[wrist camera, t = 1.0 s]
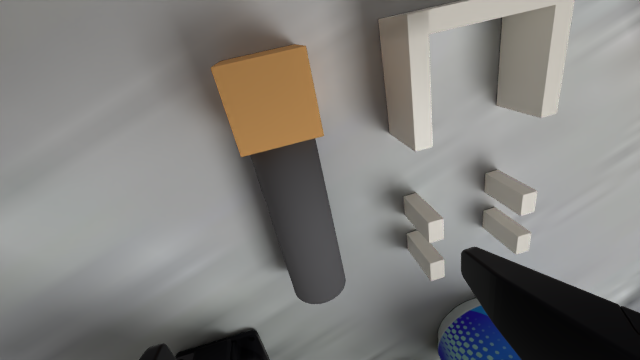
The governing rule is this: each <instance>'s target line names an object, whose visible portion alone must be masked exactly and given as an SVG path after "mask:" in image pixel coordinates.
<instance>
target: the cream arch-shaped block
mask: <svg viewBox="0 0 640 360" xmlns="http://www.w3.org/2000/svg"><path fill="white" fill-rule="evenodd" d="M574 1H575V0H460V1H456V2H452V3H447V4H443V5H438V6H434V7H429V8H425V9H421V10H416V11H412V12H407V13H403V14H398V15H394V16H390V17H385V18H381V19H378V22H379V32H380V42H381V52H382V62H383V72H384V82H385V92H386V102H387V112H388V123H389V133H390V134H391V135H392V136H394V137H395V138H397V139H398V140H399V141H401V142H402V143H404V144H405V145H407V146H408V147H409V148H411V149H412V150H414V151H415V152H417V151H420V150H424V149H428V148H431V147H433V138H432V107H431V76H430V46H429V34H433V33H437V32H441V31H445V30H450V29H454V28H458V27H463V26H467V25H471V24H475V23H480V22H484V21H488V20H492V19H497V18H501V17H502V29H501V44H500V60H499V75H498V91H497V106H500V107H503V108H507V109H510V110H514V111H518V112H521V113H525V114H529V115H532V116H536V117H539V118H543V117H546V116H550V115H554V114H557V110H558V104H559V97H560V91H561V84H562V78H563V71H564V65H565V59H566V52H567V46H568V39H569V33H570V27H571V20H572V14H573V7H574Z"/></svg>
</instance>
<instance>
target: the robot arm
mask: <svg viewBox="0 0 640 360" xmlns="http://www.w3.org/2000/svg"><path fill="white" fill-rule="evenodd" d="M461 272H462V275H463V277H464V279H465V281H466V282H467V284H468V285H469V287H470V288H471V290H472V292H473V293H474V295H475V296H476V298H477V299H478V301H479V303H480V304H481V306H482V307H483V309H484V310H485V312H486V313H487V315H488V317H489V318H490V320H491V321H492V322H493V324H494V325H495V327H496V328H497V329H498V331H499V332H500V333H501V334H502V336H503V337H504V338H505V339H506V341H507V342H508V343H509V345H510V346H511V347H512V348H513V350H514V351H515V352H516V353H517V355H518V356H519V357H520V359H521V360H640V313H639V312H636V311H634V310H631V309H629V308H626V307H624V306H621V307H620V306H619V305H618V304H616V303H614V302H611V301H609V300H606V299H604V298H601V297H599V296H596V295H594V294H591V293H589V292H586V291H584V290H581V289H579V288H577V287H574V286H572V285H569V284H567V283H564V282H562V281H559V280H557V279H554V278H552V277H549V276H547V275H544V274H542V273H539V272H537V271H534V270H532V269H530V268H527V267H525V266H522V265H520V264H517V263H515V262H512V261H510V260H507V259H505V258H502V257H500V256H497V255H495V254H492V253H490V252H488V251H485V250H483V249H480V248H478V247H471V248H468V249H465V250H463V251H462V253H461ZM139 360H270V359H269V357H268V355H267V352H266V350H265V348H264V346H263V343H262V341H261V339H260V336H259V334H258V332H257V331H254V330H251V331H247V332H244V333H241V334H238V335H235V336H231V337H228V338H225V339H222V340H218V341H215V342H212V343H209V344H205V345H202V346H199V347H196V348H193V349H189V350H186V351H183V352H180V353H177V354H176V356H175V357H174V355H173V354H172V352H171V351H170V349H169V348H168V346H167V345H166V344H164V343H162V344H158V345H155V346H152V347H150V348H148V349H147V350H146V351H145V352H144V354H143V355H142V356H141V358H140V359H139Z"/></svg>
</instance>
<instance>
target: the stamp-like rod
mask: <svg viewBox="0 0 640 360" xmlns="http://www.w3.org/2000/svg"><path fill="white" fill-rule="evenodd" d="M211 71H212V74H213V76H214V79H215V82H216V85H217V88H218V91H219V94H220V97H221V100H222V103H223V106H224V109H225V112H226V114H227V117H228V120H229V123H230V126H231V129H232V132H233V135H234V138H235V141H236V144H237V147H238V150H239V152H240V155H241V157H244V156H248V155H251V158H252V161H253V164H254V167H255V170H256V173H257V177H258V180H259V183H260V186H261V189H262V192H263V195H264V198H265V201H266V204H267V207H268V210H269V213H270V216H271V220H272V223H273V226H274V229H275V232H276V235H277V238H278V241H279V244H280V247H281V250H282V253H283V256H284V259H285V262H286V266H287V269H288V272H289V275H290V278H291V281H292V284H293V287H294V290H295V293H296V295H297V297H298V298H299V299H301V300H302V301H304V302H306V303H310V304H321V303H325V302H328V301H330V300H332V299H334V298H335V297H336V296H338V295H339V294H340V293H341V291H342V290H343V288H344V286H345V274H344V270H343V265H342V260H341V256H340V251H339V246H338V242H337V237H336V233H335V228H334V223H333V219H332V214H331V209H330V205H329V200H328V196H327V191H326V186H325V182H324V177H323V172H322V168H321V163H320V159H319V154H318V149H317V145H316V140H315V138H318V137H322V136H324V134H323V129H322V124H321V119H320V114H319V109H318V104H317V99H316V94H315V89H314V84H313V79H312V74H311V69H310V64H309V59H308V54H307V49H306V46H303V45H296V44H294V45H289V46H285V47H280V48H276V49H272V50H267V51H263V52H258V53H254V54H250V55H245V56H241V57H237V58H232V59H228V60H223V61H220V62H218V63H217V64H215V65H214V66H212V67H211Z"/></svg>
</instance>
